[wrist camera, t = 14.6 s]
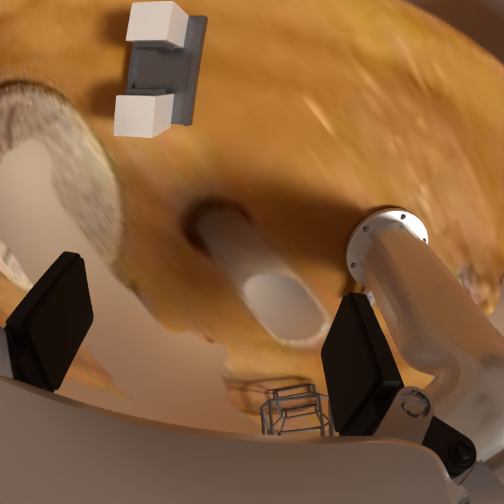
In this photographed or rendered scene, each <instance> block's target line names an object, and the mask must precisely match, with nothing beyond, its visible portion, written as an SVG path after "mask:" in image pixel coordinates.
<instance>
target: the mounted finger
mask: <svg viewBox="0 0 504 504" xmlns="http://www.w3.org/2000/svg"><path fill="white" fill-rule="evenodd" d="M188 18H189V16H188V15H187V14H186V13H185V12H184V11H183V10H182V9H181V8H180V7H179V6H178V5H177V4H176V3H175V2H174V1H159V2H138V3H132V8H131V13H130V18H129V24H128V30H127V36H126V41H129V42H133V43H134V47H135V48H139V49H142V50H146V51H174V48H183V46H184V40H185V34H186V29H187V23H188Z"/></svg>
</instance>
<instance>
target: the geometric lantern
mask: <svg viewBox="0 0 504 504" xmlns="http://www.w3.org/2000/svg"><path fill="white" fill-rule="evenodd" d="M310 386H312V387H313V391H314V392H313V391H311V388H310ZM303 387H309V392H306V393H300V394H294V395H288V396H282V397H278V392H281V391H287V390H292V389H298V388H303ZM310 393H312V394H314V395H308V396H300V397H293V396H299V395H305V394H310ZM287 397H290V398H287ZM314 397H315V400H316V404H315V405H310V406H305V407H300V408H294V409H289V410H285V409H282V408H281V406H280V404H279V401H288V400H298V399H306V398H314ZM320 397H321V398H326V399H328V406H329V418H328V417H327V416H326V415H324V414H323V412H322V405H321V399H320ZM273 402H274V403H275V405H276V407H277V410H278V412H279V414H280V416H281V417H280V418H279V419H278V420H277V421H276V422H275V423H274V424H273V418H272V405H271V404H272V403H273ZM276 402H277V403H278V405H277V403H276ZM267 406H269V419H270V427H269V424H268V421H267V418H266V415H265V412H264V409H265V408H266V407H267ZM278 406H279V407H278ZM314 406H315V412H311V413H306V414H301V415H296V416H291V417H287V411H292V410H298V409H303V408H309V407H314ZM317 407H318V411H317ZM279 408H280V410H281V412H280V410H279ZM260 409H261V423H262V435H265V424H266V427H267V431H268V435H270V433H271V435H274V433H277V434H278V435H279V436H281V434H283V433H292V432H300V431H307V430H314V429H320V430H321V436H326V435H325V426H327V425H329V436H334V426H333V419H332V413H331V407H330V401H329V396H326V395H323V394H320V393H317V389H316V386H315V385H311V384H309V385H304V386H299V387H293V388H288V389H282V390H276V391H275V393H274V396H273V399H269V400H267V401H266V402H265V403H264V404H263V405H262V406H261V408H260ZM282 411H285V417H284V416H283V412H282ZM318 412H320V417H319V414H318ZM314 413H316V414H317V416H318V419H319V421H320V423H321V426H319V427H312V428H305V429H298V430H290V431H282V430H283V427H284V423H285V420H286V419H289V418H294V417H300V416H305V415H310V414H314ZM323 416H324V417H325V418H326V419H327V420H328V421H329V422H328V423H326V424H324V420H323ZM281 418H284V421H283V424H282V427H281V431H280V432H278V431H275V430H273V427H274V426H275V425H276V424H277V423H278V421H279V420H280V419H281ZM264 421H265V423H264Z"/></svg>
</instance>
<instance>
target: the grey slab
mask: <svg viewBox="0 0 504 504" xmlns="http://www.w3.org/2000/svg"><path fill="white" fill-rule="evenodd" d="M207 21H208V18H207V17H206V16H201V15H199V16H189V18H188V23H187V29H186V34H185V40H184V46H183V48H174V51H146V50H142V49H139V48H135V47H134V43H132V49H131V56H130V64H129V72H128V81H127V89H132V88H158V89H166V91H165V93H167V94H174V99H173V108H172V117H171V124H182V125H184V126H189V125H192V121H193V113H194V105H195V97H196V90H197V83H198V76H199V69H200V63H201V56H202V50H203V44H204V38H205V32H206V27H207Z"/></svg>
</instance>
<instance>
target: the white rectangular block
mask: <svg viewBox="0 0 504 504" xmlns="http://www.w3.org/2000/svg"><path fill="white" fill-rule="evenodd" d="M165 91H166V89H158V88H132V89H126V90H125V94H124V95H116V105H115V120H114V136H130V137H147V138H152V137H154V136H156V135H158V134H160V133H162V132H163V131H165V130H167V129H169V128H170V127H171V117H172V108H173V99H174V94H167V93H165Z"/></svg>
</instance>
